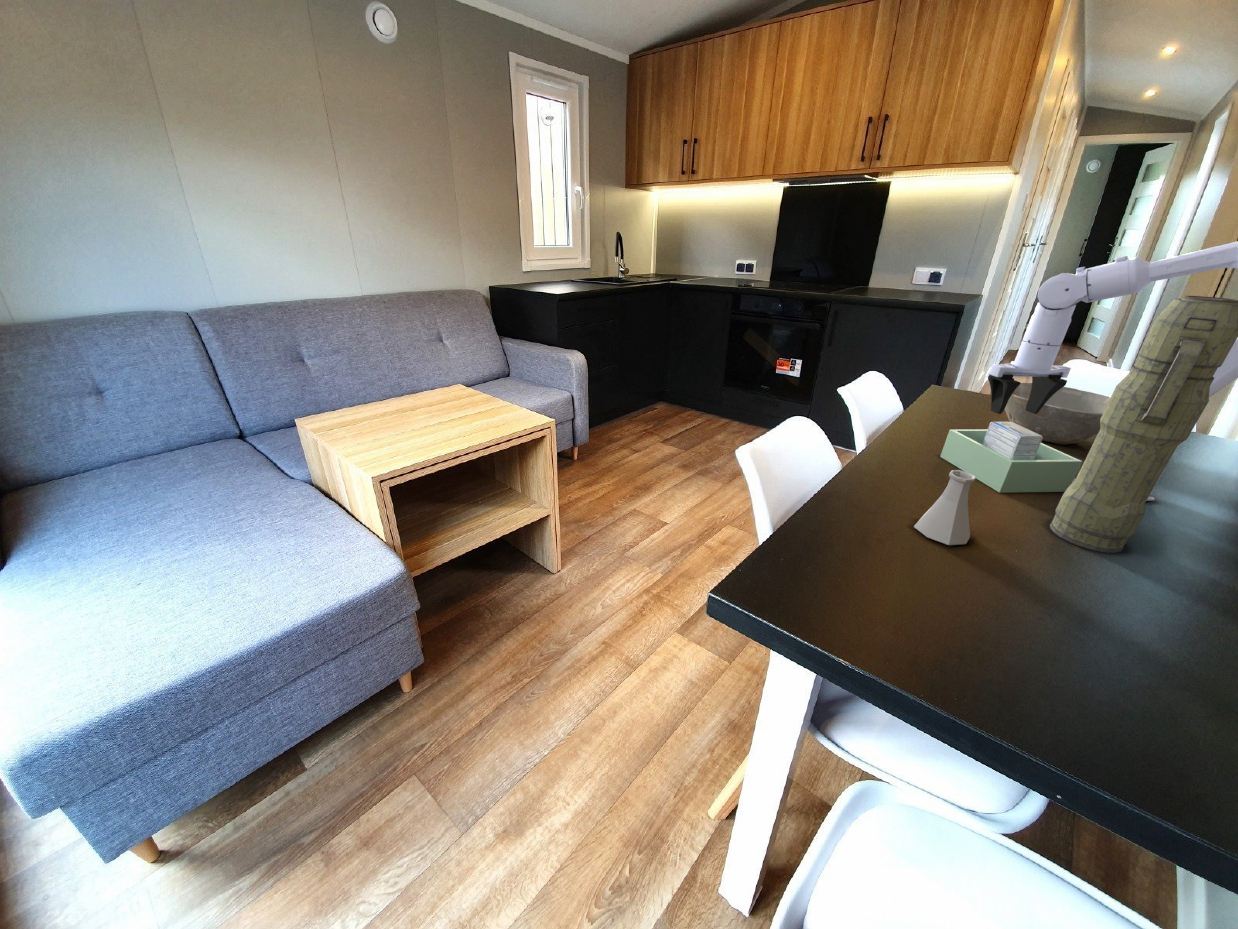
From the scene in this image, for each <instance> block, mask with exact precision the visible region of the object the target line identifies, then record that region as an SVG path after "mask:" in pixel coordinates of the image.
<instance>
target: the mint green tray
mask: <svg viewBox="0 0 1238 929" xmlns="http://www.w3.org/2000/svg"><path fill="white" fill-rule="evenodd" d="M987 431H988V428H987V429H986V428H985V429H983V428H981V429H980V428H979V429H977V428H975V429H973V428H971V429H970V428H969V429H961V428H960V429H957V428H956V429H954V428H953V429H949V430H948V433H947V437H946V439H945V442H944V444H943V448H942V450H941V453H940V458H941V459H943V460H945V461H946V462H948V463H950V464H952V465H953V466H955V467H957V468H958V469H959V470H961V471H964V472H968V473H970V474H972V475H974V476H976V479H975V480H978V481H980V482H981V483H983V484H984V485H986V486H988V488H989V487H990V488H991V489H993V490H994V491H996V492H998V493H999V494H1000V493H1003V494H1005V493H1062V492H1063V493H1064V492H1065V491H1066V490H1067V488H1068V487H1069V486H1070V485H1071V484H1072V482H1073V480H1074V479H1076V477H1077V476H1076V475H1078V473H1079V471H1080V469H1081V467H1082V464H1083V460H1080V459H1078V458H1077V457H1074V456H1071V455H1070V454H1067V453H1065V452H1062V451H1061V450H1058V449H1056V448H1054V447H1052V446H1049V445H1047V444H1044V443H1043V442H1041V443H1040V446H1039V448H1038V451H1037V453H1036V455H1035V458H1034V460H1011V459H1009V458H1007V457H1005V456H1003V455H1001V454H999V453H998V452H996V451H994V450H992V449H990V448H988V447H986V446H984V445H982V444H983V441H984V439H985V436H986V433H987Z"/></svg>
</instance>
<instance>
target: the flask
mask: <svg viewBox="0 0 1238 929" xmlns="http://www.w3.org/2000/svg"><path fill="white" fill-rule="evenodd" d="M948 477H949V480H948V483H947V485H946V487H945V489H944V491H943V492H942V494H941V495H940V496H939V497H938V499H937V500H936V501H935V502H934V503H933V504H932V505H931V506H930V507H929V509H928V510H927V511H926V512H925V513H924V514H923V515H922V516H921V517H920V519H919V520H918V521H917V522H916V523H915V524H914V526H913V528H914V529H916V530H917V531H919V532H920V533H921V534H922V535H923V536H925V537H926V538H928V539H931V540H934V541H936V542H939V543H942V544H944V545H947V546H956V545H958V546H959V545H966V544H967V543H968V541H969V540H970V538H971V528H970V519H969V502H968V499H969V495H970V494H969V492H970V488H971V485H972V484H973V483H974V482H975V480H977V479H976V476H974V475H972V474H970V473H968V472H965V471H963V470H961V469H954V470H950V471H949V473H948Z"/></svg>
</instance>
